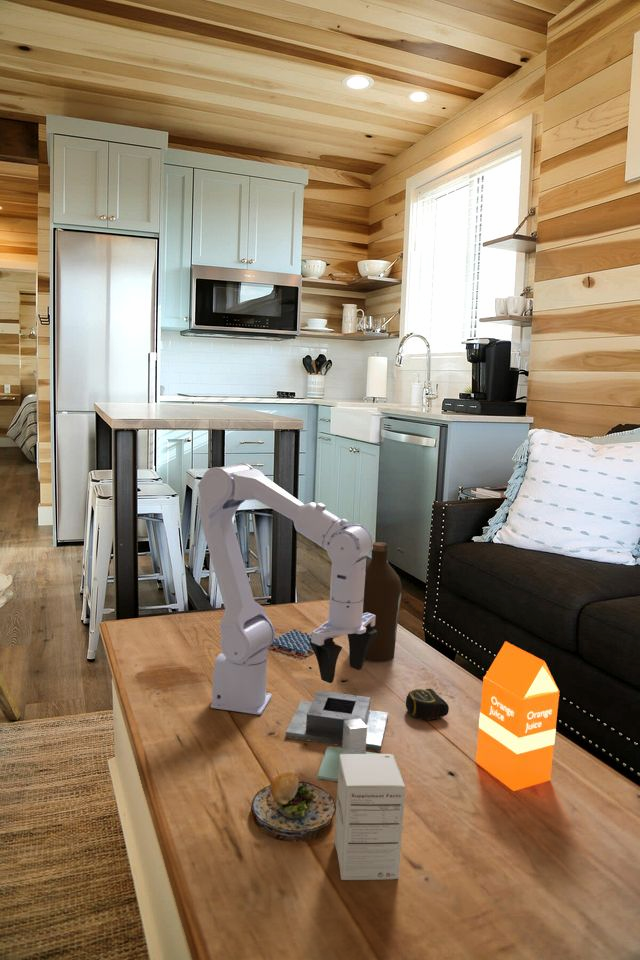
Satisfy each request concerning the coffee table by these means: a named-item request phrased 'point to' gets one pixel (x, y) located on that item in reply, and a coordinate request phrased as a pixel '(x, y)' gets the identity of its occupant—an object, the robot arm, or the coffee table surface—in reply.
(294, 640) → the woven mat
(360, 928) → the coffee table surface
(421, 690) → the tape measure
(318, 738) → the plate
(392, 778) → the supplement box
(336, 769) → the mat
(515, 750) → the orange juice
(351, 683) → the coffee table surface
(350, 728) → the light grey rectangular block
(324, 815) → the burger
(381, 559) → the olive oil
